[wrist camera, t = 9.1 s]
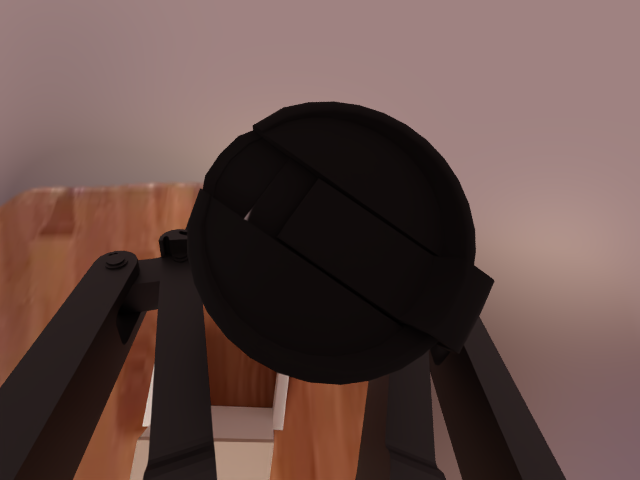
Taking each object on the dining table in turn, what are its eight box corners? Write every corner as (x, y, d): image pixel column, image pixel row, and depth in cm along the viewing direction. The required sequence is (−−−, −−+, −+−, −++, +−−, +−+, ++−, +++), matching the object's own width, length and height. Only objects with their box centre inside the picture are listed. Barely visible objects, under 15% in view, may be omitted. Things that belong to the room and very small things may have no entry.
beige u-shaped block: (170, 322, 34) (143, 333, 26) (291, 331, 36) (297, 345, 29) (144, 461, 31) (106, 517, 24) (275, 462, 34) (278, 514, 26)
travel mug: (295, 322, 24) (412, 479, 5) (231, 279, 24) (81, 264, 5) (334, 262, 26) (545, 200, 6) (274, 220, 25) (302, 15, 6)
